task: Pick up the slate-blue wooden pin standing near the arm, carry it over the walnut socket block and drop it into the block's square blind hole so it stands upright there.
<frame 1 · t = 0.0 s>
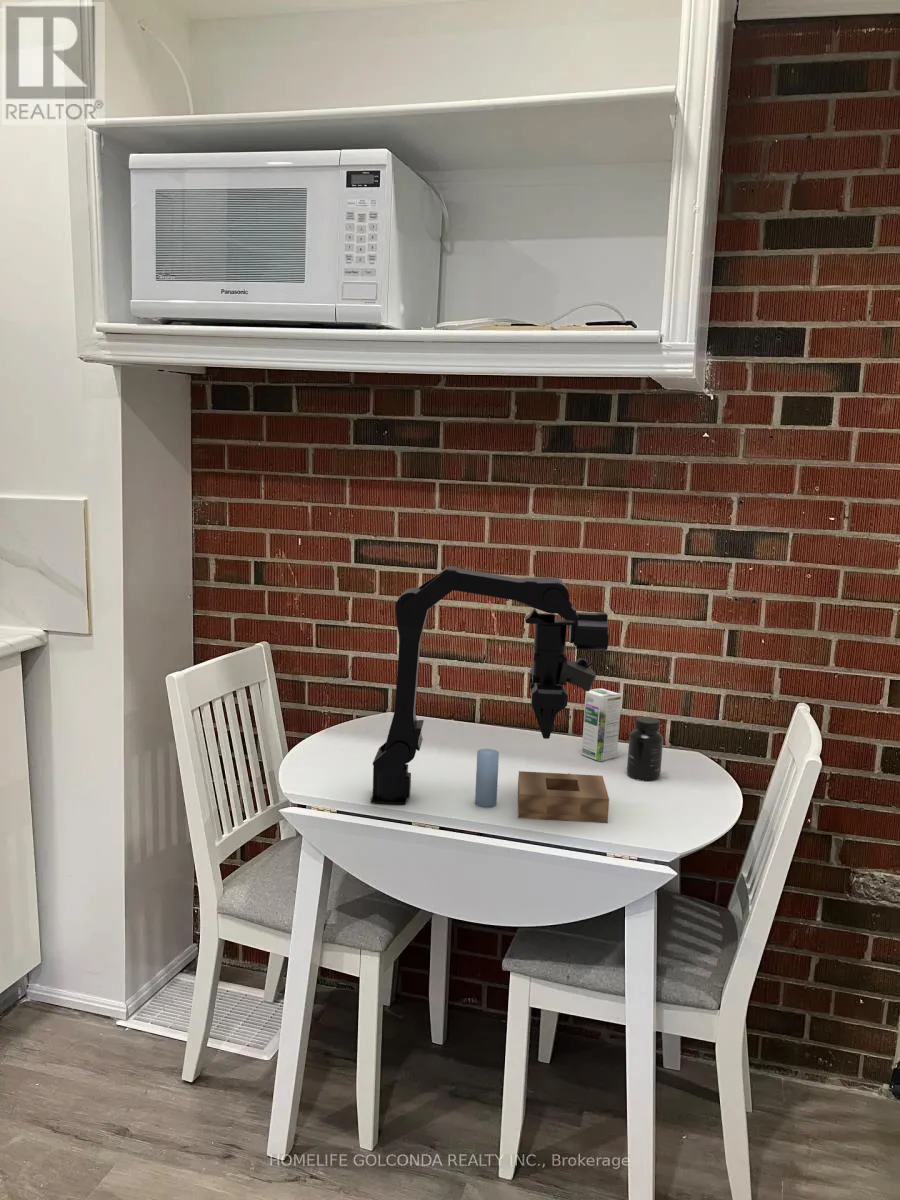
hand: (545, 730, 174), 15 cm above the table, tool pointing down, fingers open, 9 cm apart
pin: (485, 803, 177), on the table
syrup box: (599, 757, 207), on the table
socket block: (560, 807, 177), on the table
supplement bottle: (643, 776, 195), on the table
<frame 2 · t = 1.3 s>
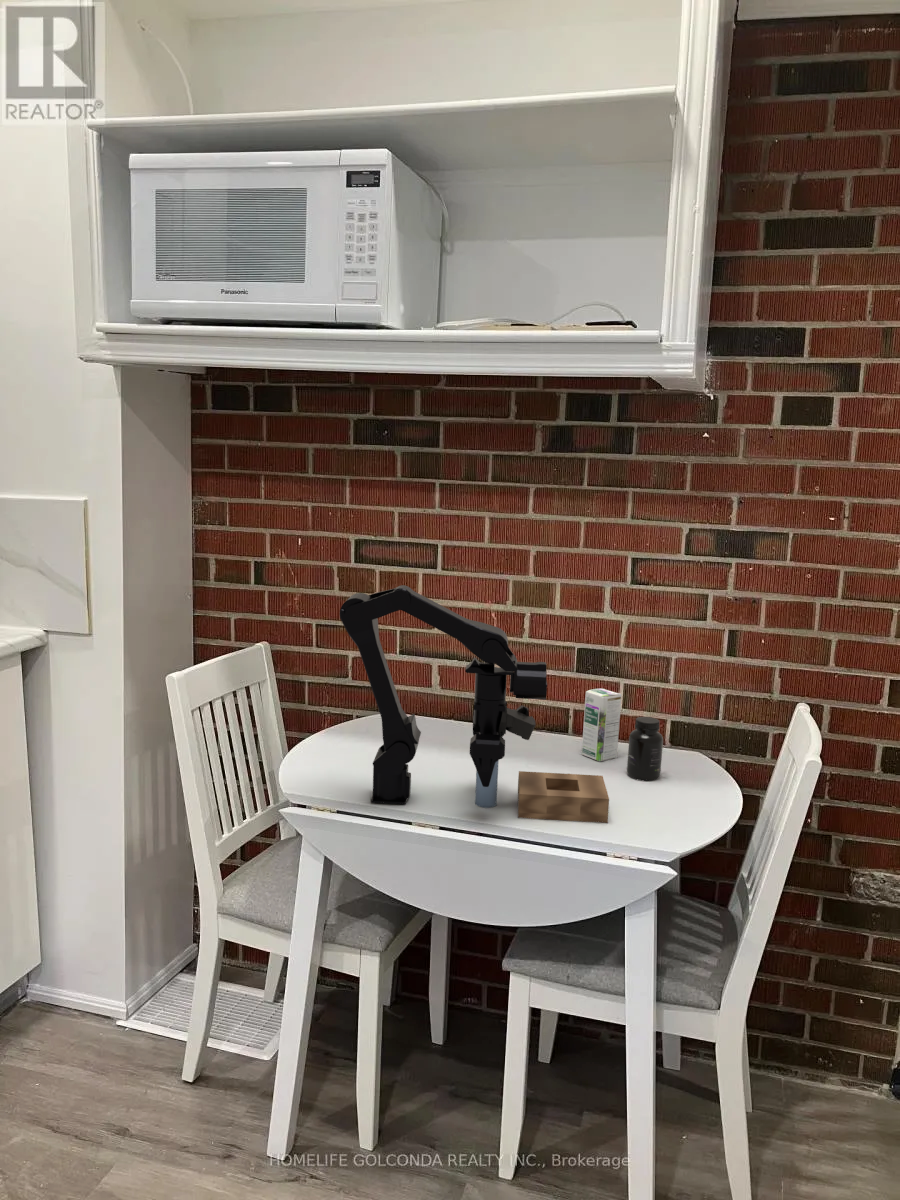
hand: (486, 777, 177), 5 cm above the table, tool pointing down, fingers open, 9 cm apart
nothing on the table moved.
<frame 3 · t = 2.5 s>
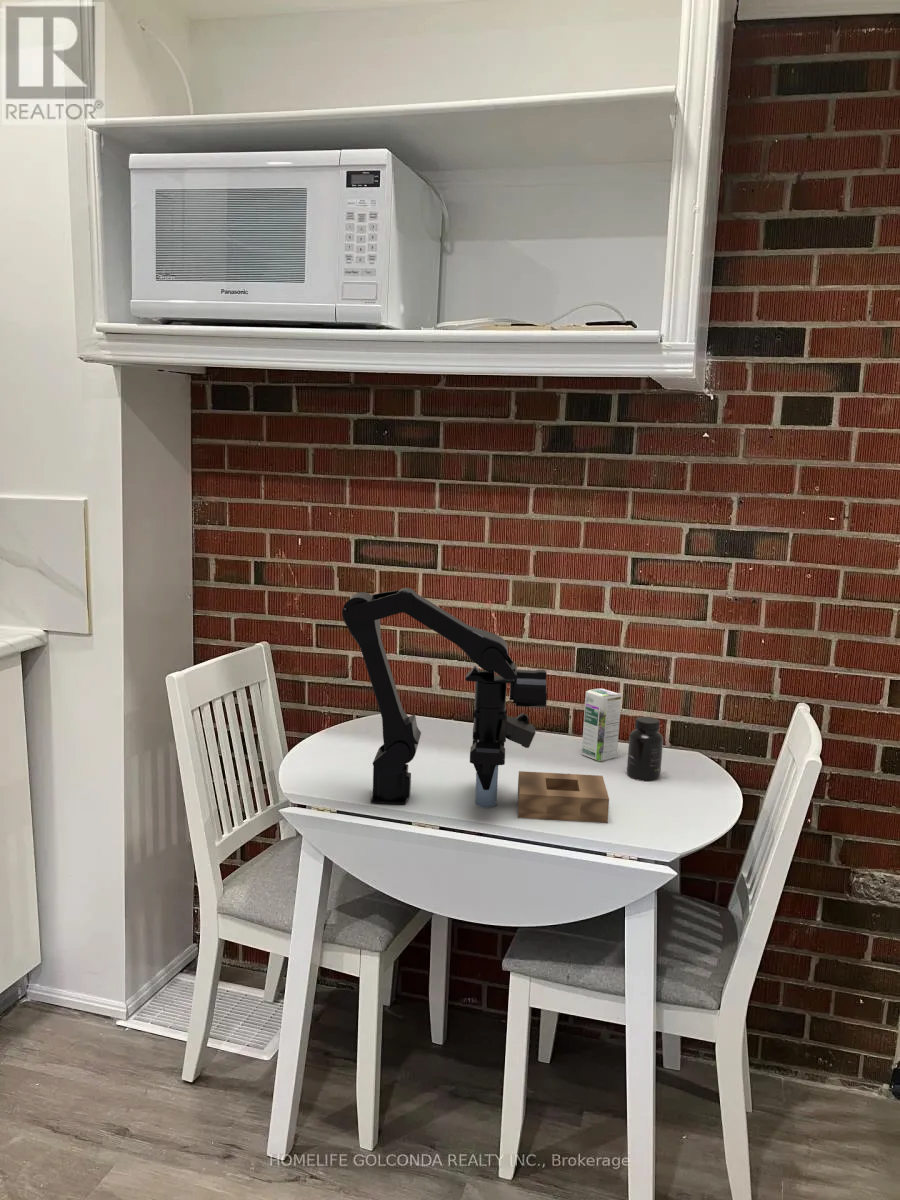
hand: (486, 785, 177), 4 cm above the table, tool pointing down, fingers closed on pin, 4 cm apart
pin: (485, 803, 177), on the table, touching gripper
everything else where it was.
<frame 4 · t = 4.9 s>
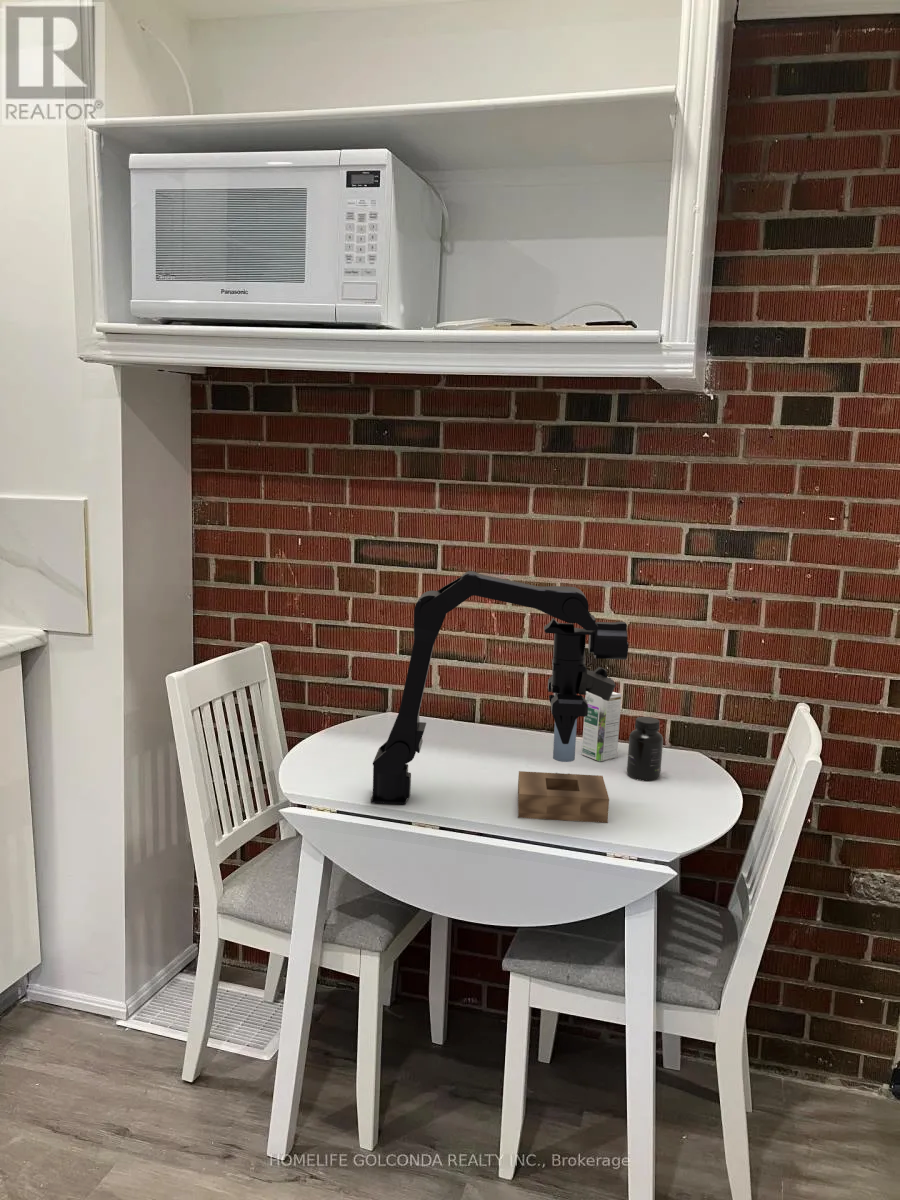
hand: (564, 740, 174), 13 cm above the table, tool pointing down, fingers closed on pin, 4 cm apart
pin: (563, 758, 175), point 10 cm above the table, touching gripper
everything else where it was.
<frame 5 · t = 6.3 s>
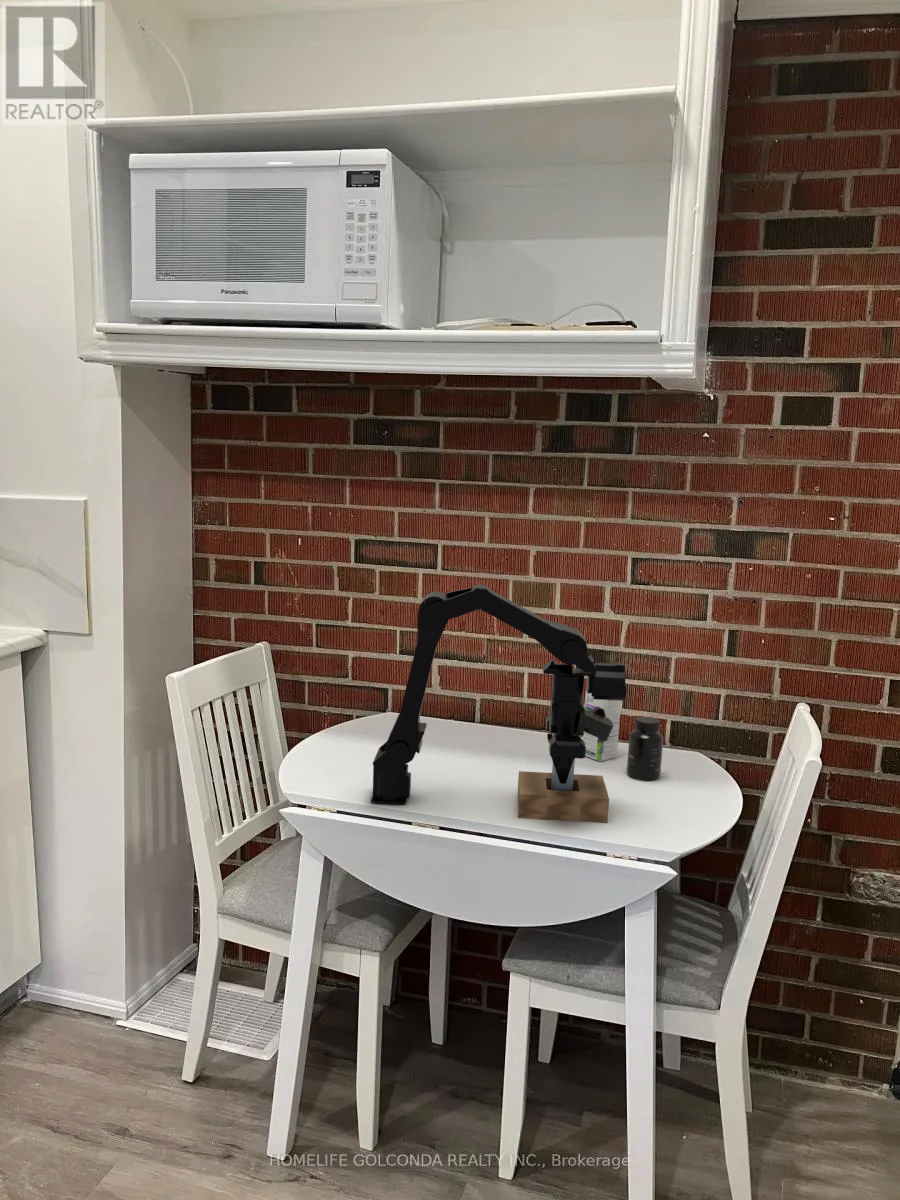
hand: (562, 779, 176), 6 cm above the table, tool pointing down, fingers closed on pin, 4 cm apart
pin: (561, 797, 176), point 2 cm above the table, touching gripper
everything else where it was.
when the fingers open (5 cm above the table, at t = 7.2 s): pin stays where it is, resting on socket block.
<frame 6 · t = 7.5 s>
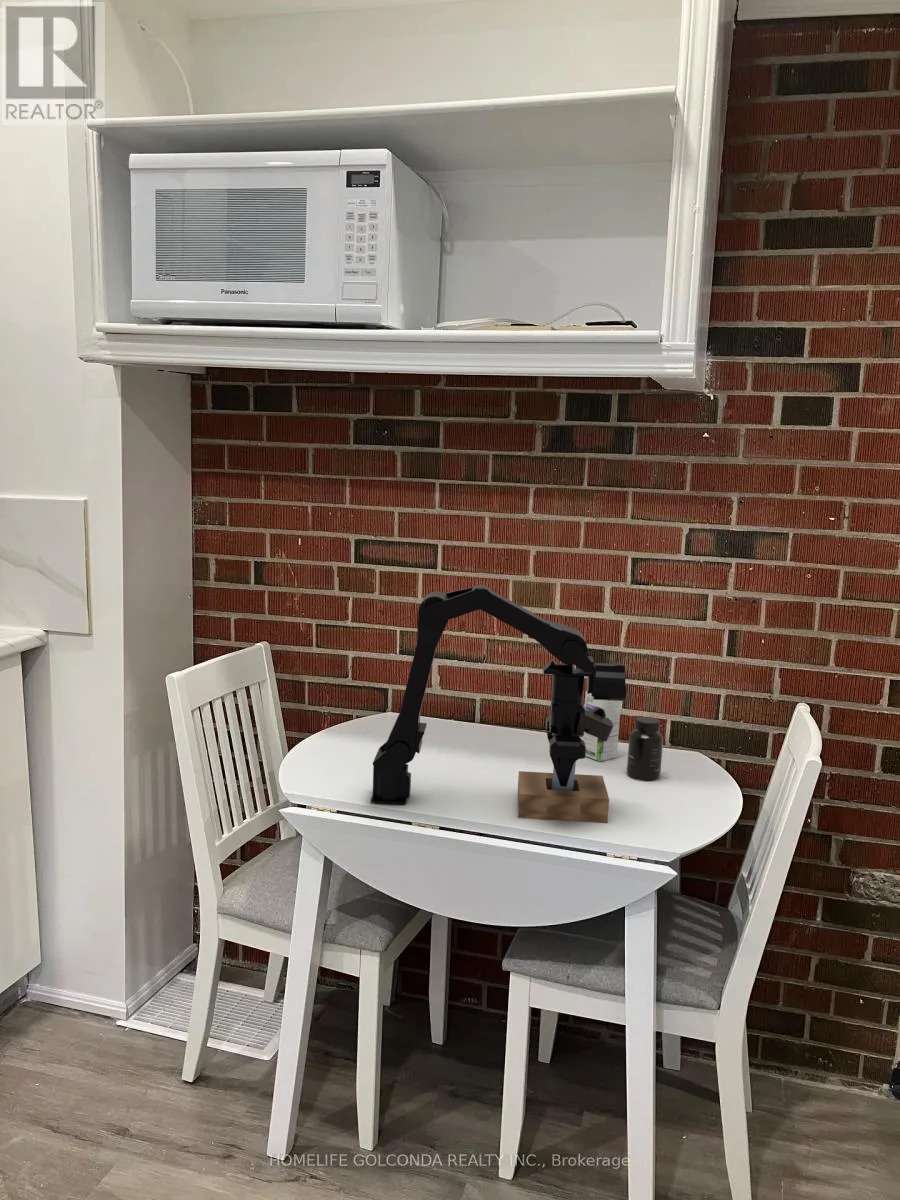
hand: (562, 779, 176), 5 cm above the table, tool pointing down, fingers open, 7 cm apart
pin: (561, 802, 176), point 1 cm above the table, touching socket block
everything else where it was.
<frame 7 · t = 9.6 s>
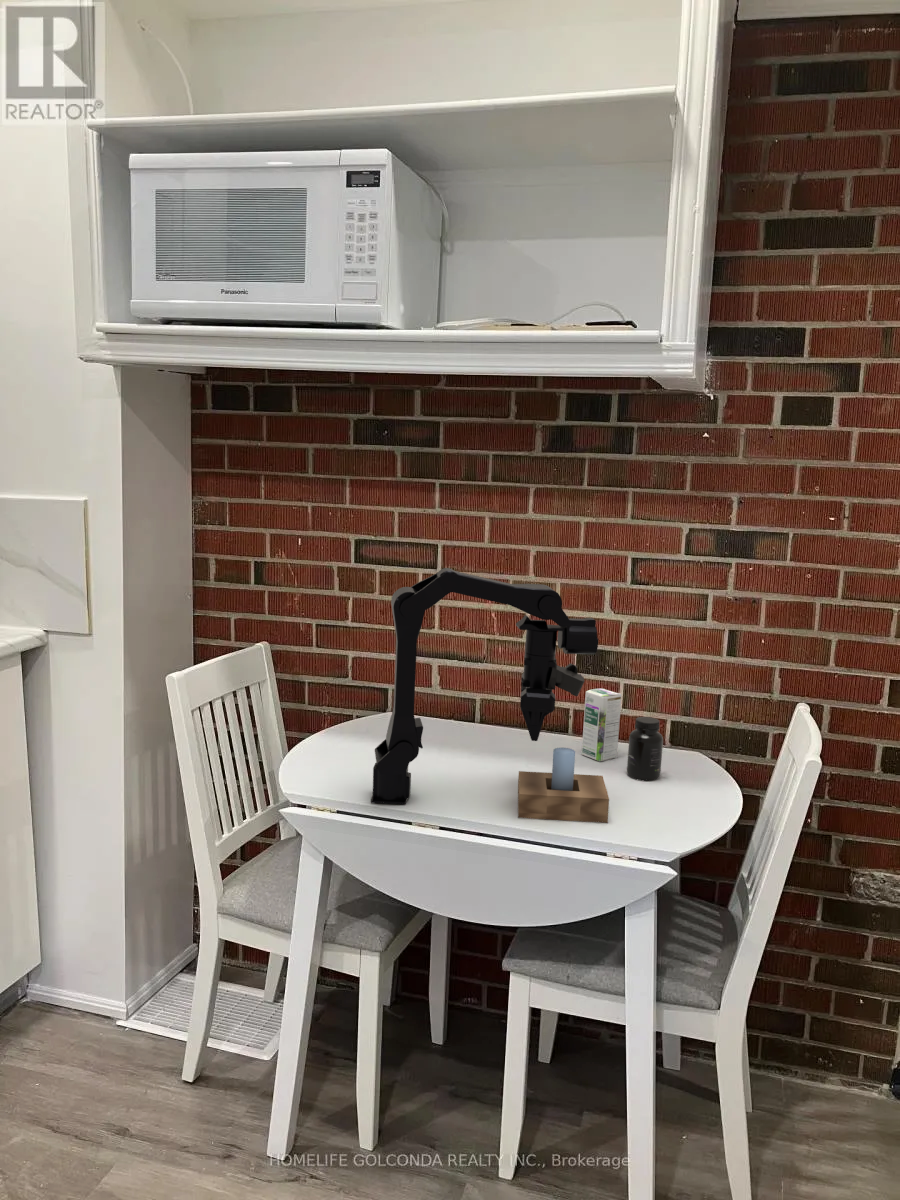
hand: (534, 733, 180), 13 cm above the table, tool pointing down, fingers open, 9 cm apart
nothing on the table moved.
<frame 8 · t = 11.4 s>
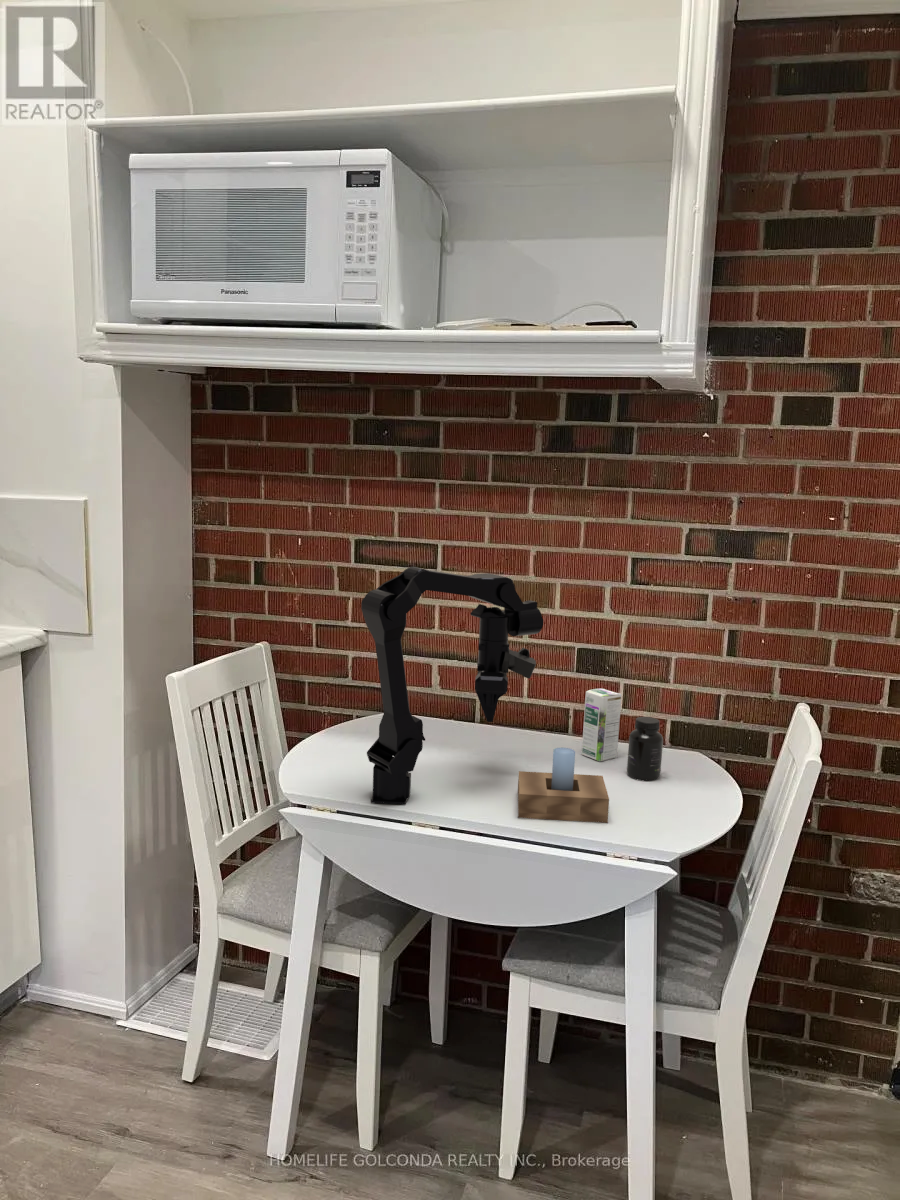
hand: (490, 715, 189), 13 cm above the table, tool pointing down, fingers open, 9 cm apart
nothing on the table moved.
at the end: pin 0.0 cm off-centre on the socket block, point 1.0 cm above the socket block's base; pin tilted 0°; the gripper is holding nothing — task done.
